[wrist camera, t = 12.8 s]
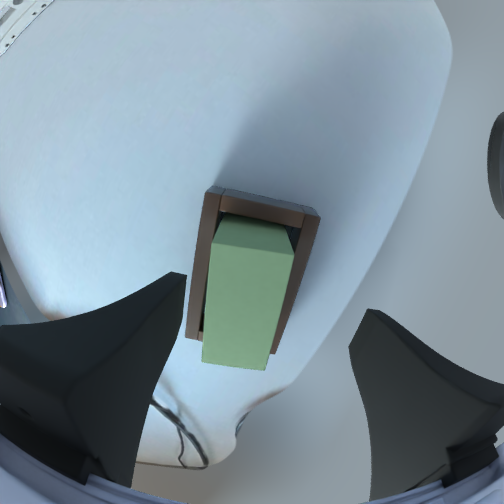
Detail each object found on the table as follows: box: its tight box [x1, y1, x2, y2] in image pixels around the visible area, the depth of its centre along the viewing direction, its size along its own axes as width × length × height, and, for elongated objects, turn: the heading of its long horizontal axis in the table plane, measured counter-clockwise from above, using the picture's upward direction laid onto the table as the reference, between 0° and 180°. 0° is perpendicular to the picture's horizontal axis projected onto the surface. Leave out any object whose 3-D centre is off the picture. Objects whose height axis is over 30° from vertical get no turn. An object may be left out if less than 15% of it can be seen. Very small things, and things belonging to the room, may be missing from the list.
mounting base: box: [185, 186, 321, 354], centre depth 19 cm, size 7×11×2 cm, turn 168°
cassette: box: [0, 0, 54, 56], centre depth 7 cm, size 12×2×8 cm, turn 116°
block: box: [202, 213, 294, 371], centre depth 17 cm, size 4×8×6 cm, turn 171°
